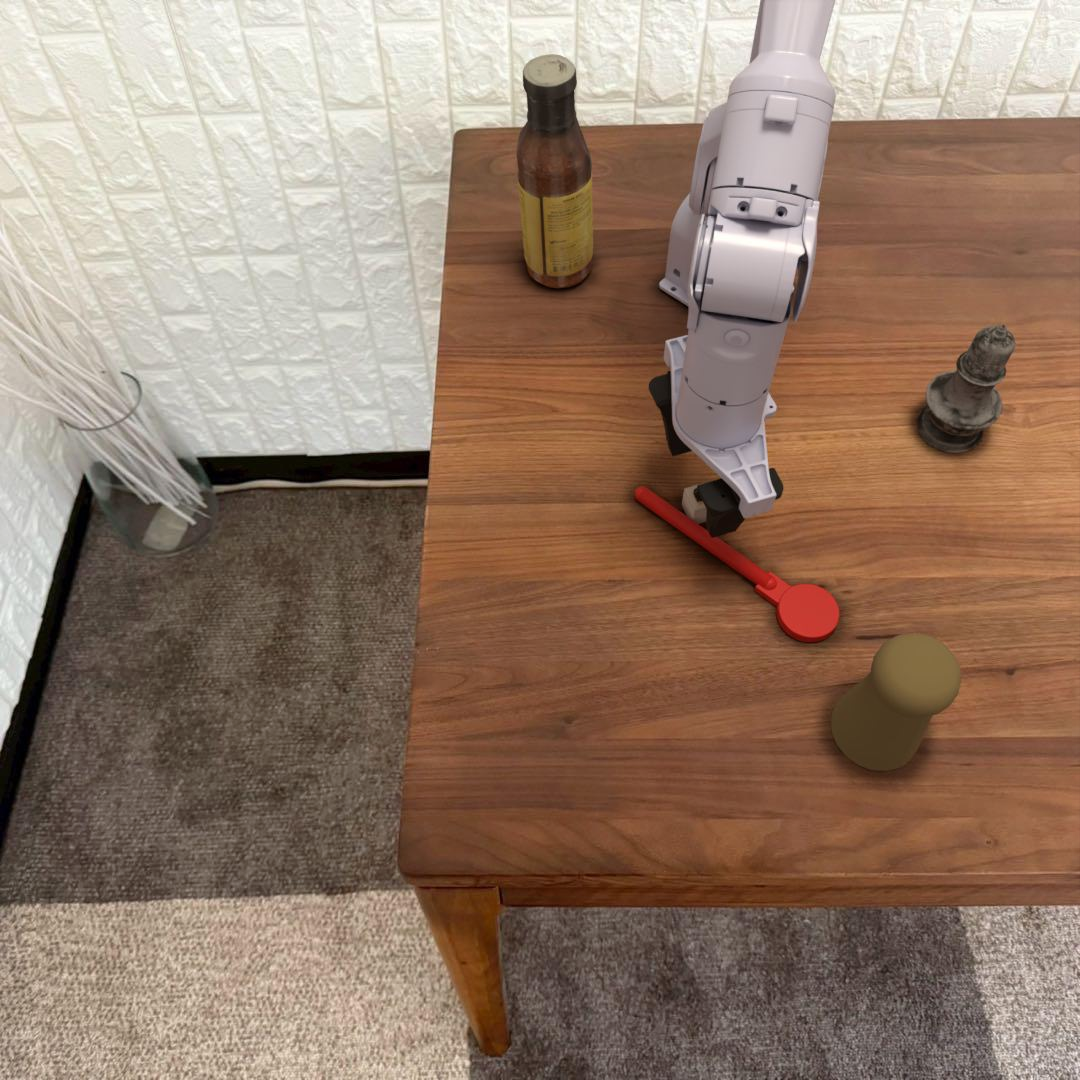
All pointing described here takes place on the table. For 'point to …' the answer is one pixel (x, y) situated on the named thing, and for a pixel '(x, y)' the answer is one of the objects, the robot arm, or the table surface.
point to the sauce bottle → (554, 177)
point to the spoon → (760, 578)
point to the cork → (896, 701)
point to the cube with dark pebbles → (694, 505)
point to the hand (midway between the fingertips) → (702, 489)
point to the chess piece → (967, 394)
